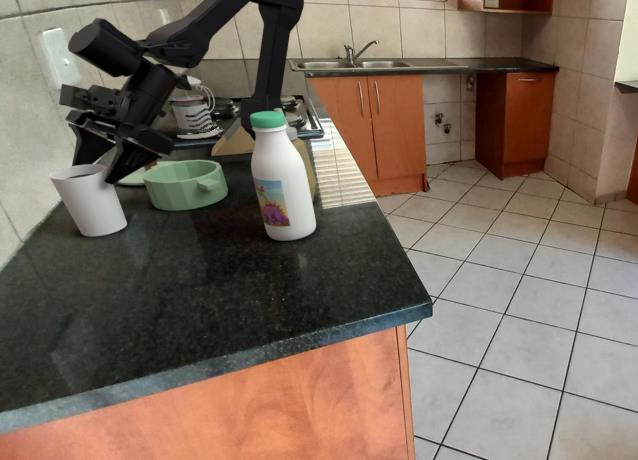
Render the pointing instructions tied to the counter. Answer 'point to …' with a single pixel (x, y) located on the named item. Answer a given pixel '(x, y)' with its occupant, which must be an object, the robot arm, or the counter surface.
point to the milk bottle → (280, 180)
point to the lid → (140, 174)
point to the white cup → (90, 199)
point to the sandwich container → (234, 141)
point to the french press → (193, 111)
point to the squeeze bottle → (301, 154)
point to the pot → (185, 184)
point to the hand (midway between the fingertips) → (91, 177)
